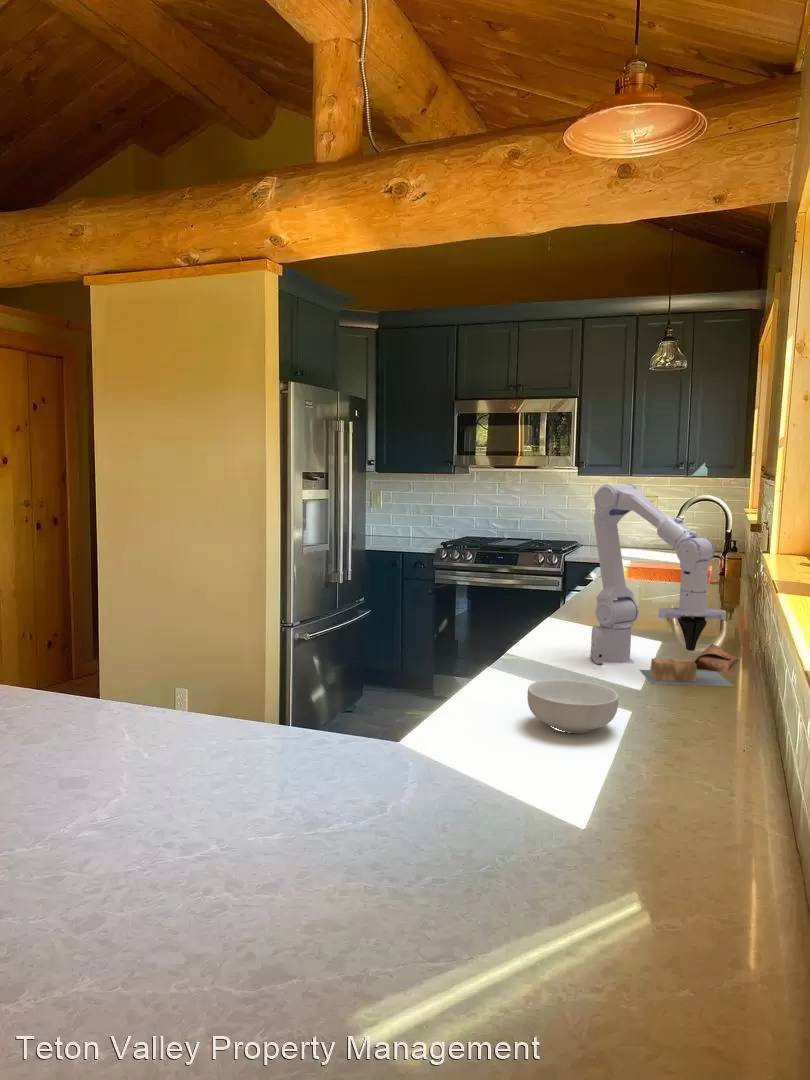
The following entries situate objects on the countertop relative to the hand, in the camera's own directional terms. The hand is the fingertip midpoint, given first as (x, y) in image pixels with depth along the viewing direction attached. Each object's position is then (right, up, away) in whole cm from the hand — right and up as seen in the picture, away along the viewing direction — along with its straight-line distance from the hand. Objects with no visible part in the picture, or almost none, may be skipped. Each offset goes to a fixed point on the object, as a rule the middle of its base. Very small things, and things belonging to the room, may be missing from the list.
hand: (690, 649), depth 182 cm
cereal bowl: (-34, -10, -32) cm, 47 cm away
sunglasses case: (+12, -7, +16) cm, 21 cm away
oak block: (+1, -5, 0) cm, 5 cm away
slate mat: (-1, -7, +2) cm, 7 cm away
